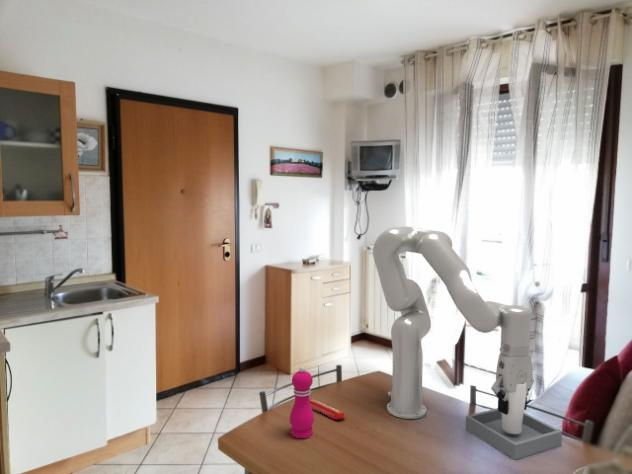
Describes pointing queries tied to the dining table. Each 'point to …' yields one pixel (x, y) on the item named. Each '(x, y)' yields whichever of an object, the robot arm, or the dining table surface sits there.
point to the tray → (514, 445)
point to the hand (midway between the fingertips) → (512, 409)
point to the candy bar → (326, 409)
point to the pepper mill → (302, 405)
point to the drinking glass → (514, 410)
